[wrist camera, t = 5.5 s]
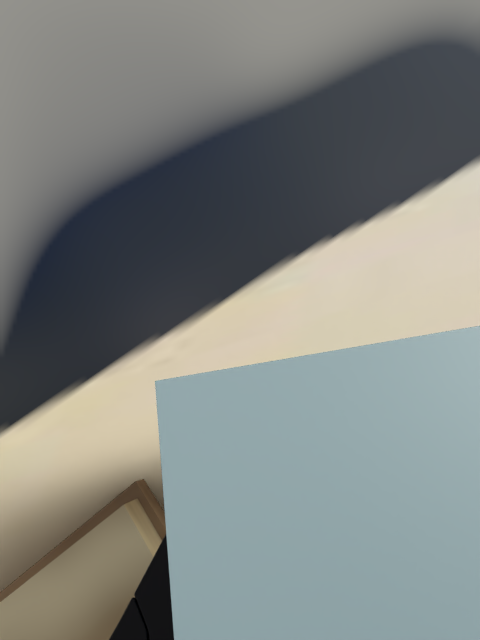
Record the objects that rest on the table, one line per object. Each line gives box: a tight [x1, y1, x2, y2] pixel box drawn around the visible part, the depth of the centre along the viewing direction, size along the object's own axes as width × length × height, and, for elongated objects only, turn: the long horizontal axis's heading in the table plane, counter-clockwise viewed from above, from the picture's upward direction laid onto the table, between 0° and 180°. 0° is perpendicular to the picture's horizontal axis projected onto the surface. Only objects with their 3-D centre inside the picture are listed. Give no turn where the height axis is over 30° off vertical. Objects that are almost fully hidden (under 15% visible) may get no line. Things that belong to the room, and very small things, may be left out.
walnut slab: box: [0, 479, 166, 602], centre depth 19 cm, size 11×11×2 cm
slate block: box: [155, 326, 480, 640], centre depth 9 cm, size 6×6×12 cm
